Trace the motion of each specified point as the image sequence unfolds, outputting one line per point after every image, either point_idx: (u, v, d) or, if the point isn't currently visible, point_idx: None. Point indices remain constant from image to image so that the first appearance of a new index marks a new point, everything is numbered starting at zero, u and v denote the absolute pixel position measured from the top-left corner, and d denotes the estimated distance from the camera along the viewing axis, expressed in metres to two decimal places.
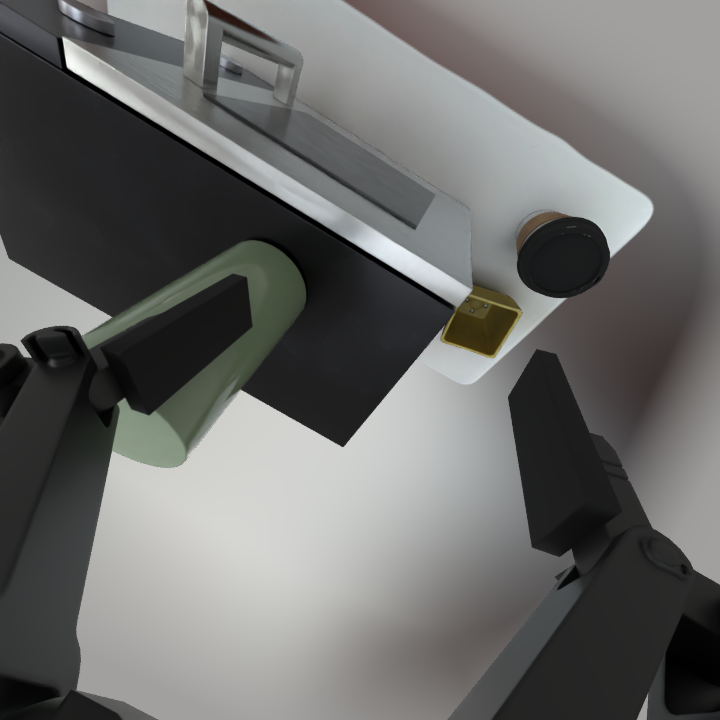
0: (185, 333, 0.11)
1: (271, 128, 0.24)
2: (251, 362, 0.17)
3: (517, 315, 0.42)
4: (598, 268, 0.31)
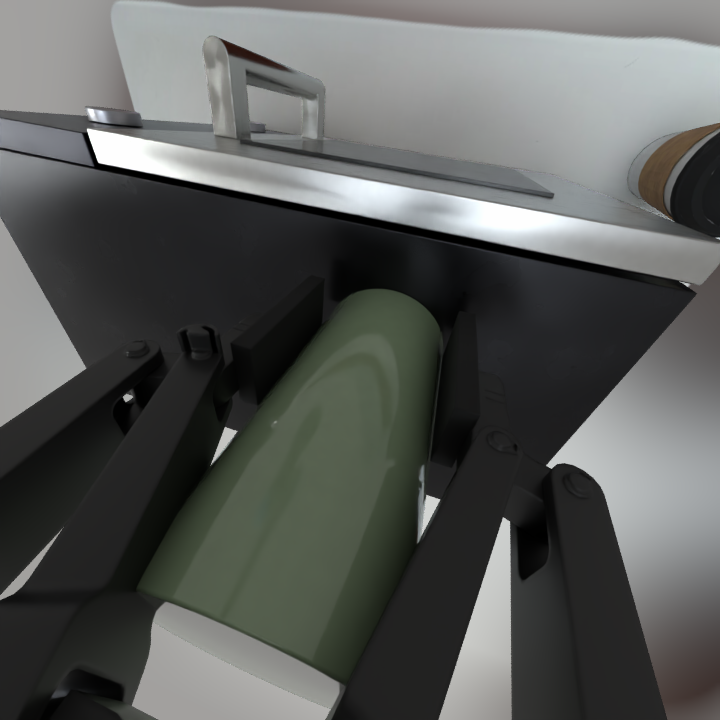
0: (285, 330, 0.12)
1: (321, 150, 0.20)
2: (428, 475, 0.10)
3: None
4: None
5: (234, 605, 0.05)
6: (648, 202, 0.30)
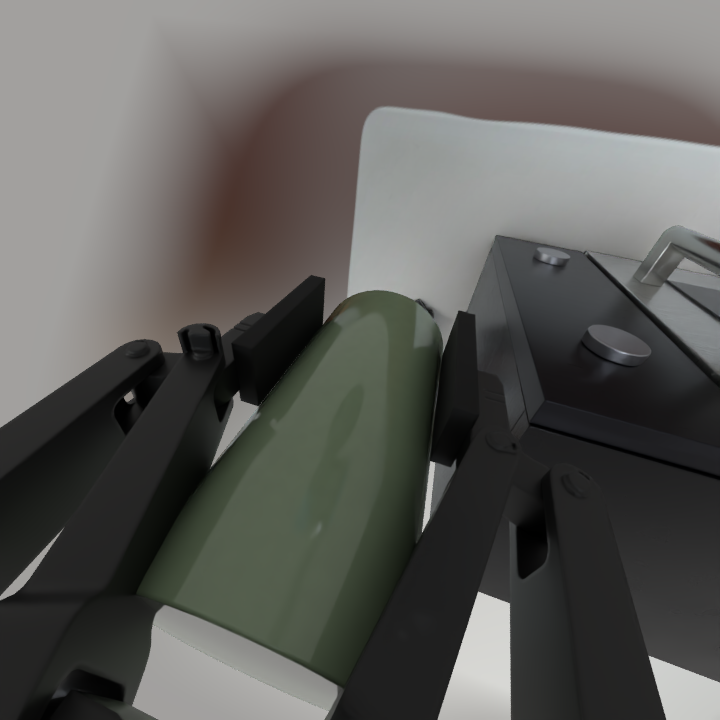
0: (286, 331, 0.12)
1: None
2: (427, 477, 0.10)
3: None
4: None
5: (233, 609, 0.05)
6: None
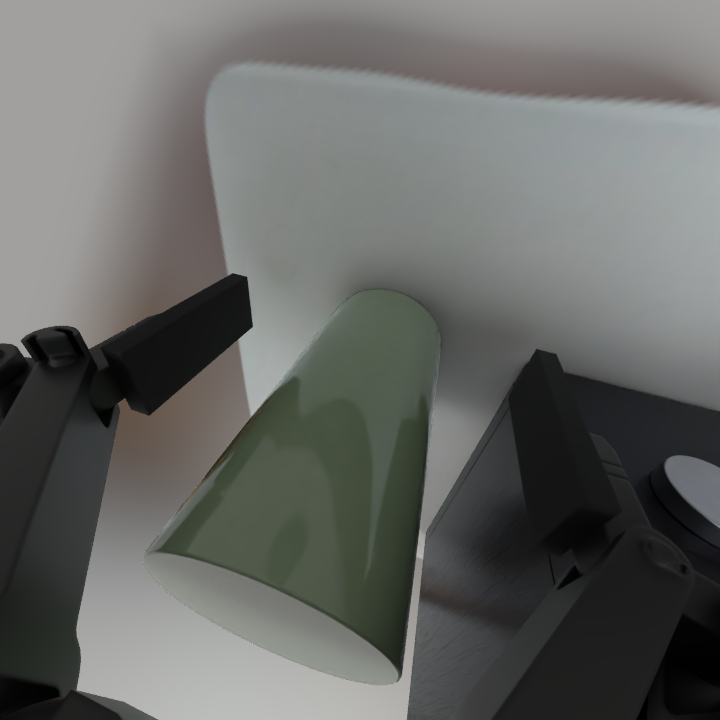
0: (185, 333, 0.11)
1: None
2: (427, 461, 0.11)
3: None
4: None
5: (255, 561, 0.06)
6: None
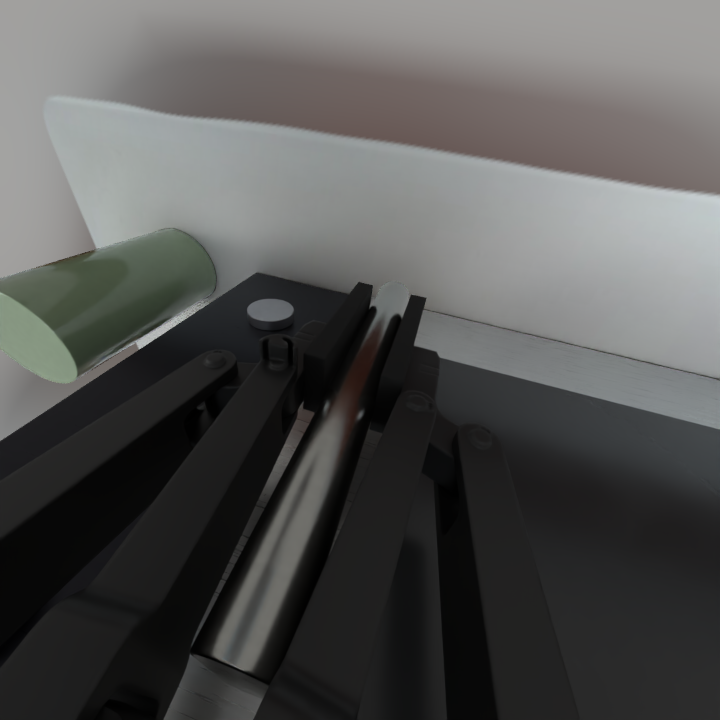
0: (345, 339, 0.12)
1: None
2: (140, 300, 0.22)
3: None
4: None
5: None
6: None
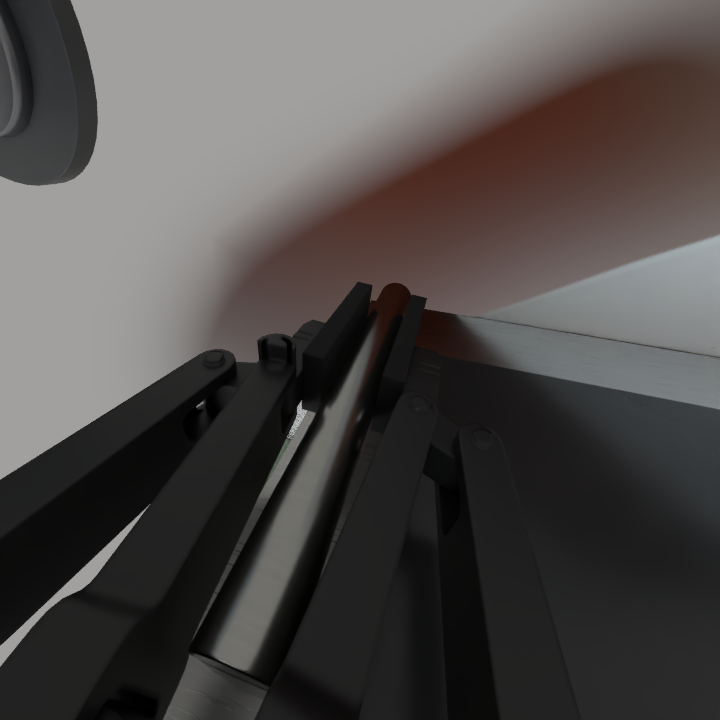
0: (344, 339, 0.12)
1: None
2: None
3: None
4: None
5: None
6: None
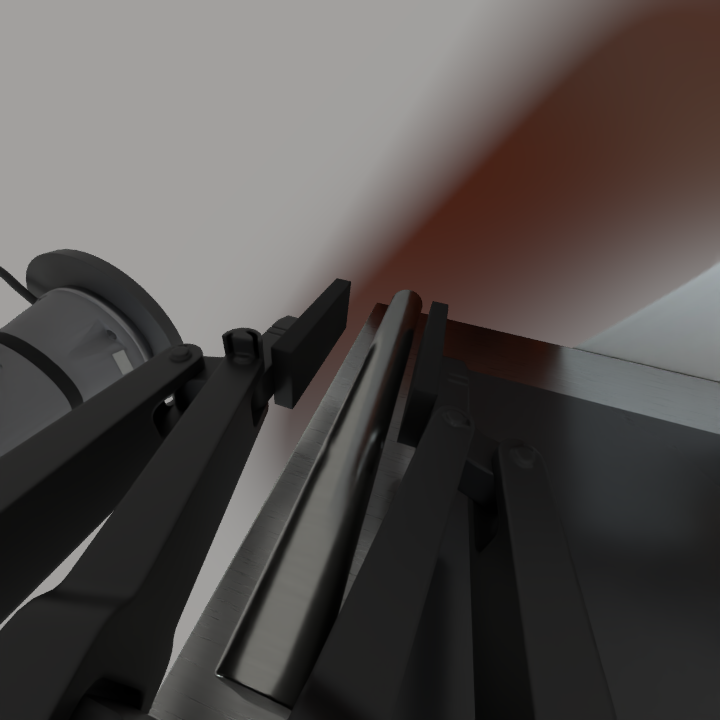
0: (318, 334, 0.12)
1: None
2: None
3: None
4: None
5: None
6: None
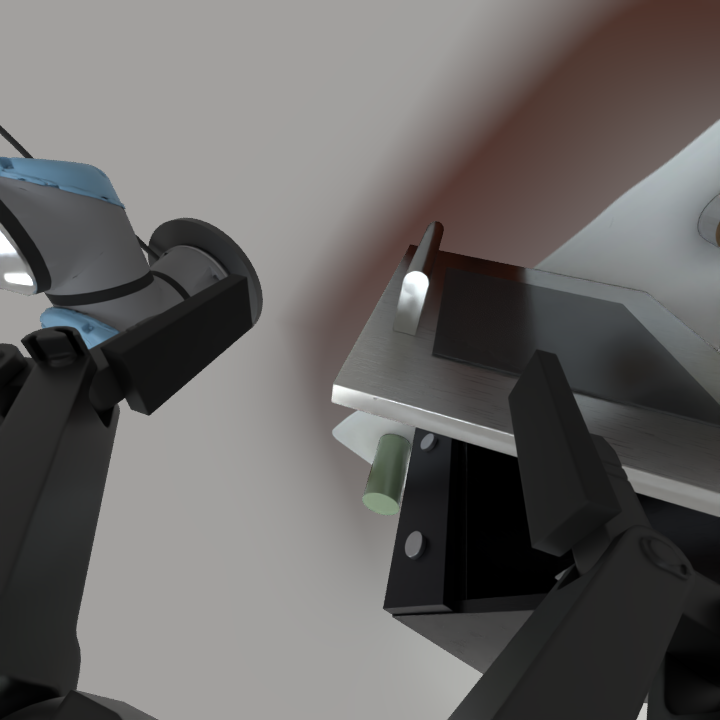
0: (185, 333, 0.11)
1: (501, 355, 0.22)
2: (394, 469, 0.58)
3: None
4: None
5: (366, 493, 0.55)
6: None
